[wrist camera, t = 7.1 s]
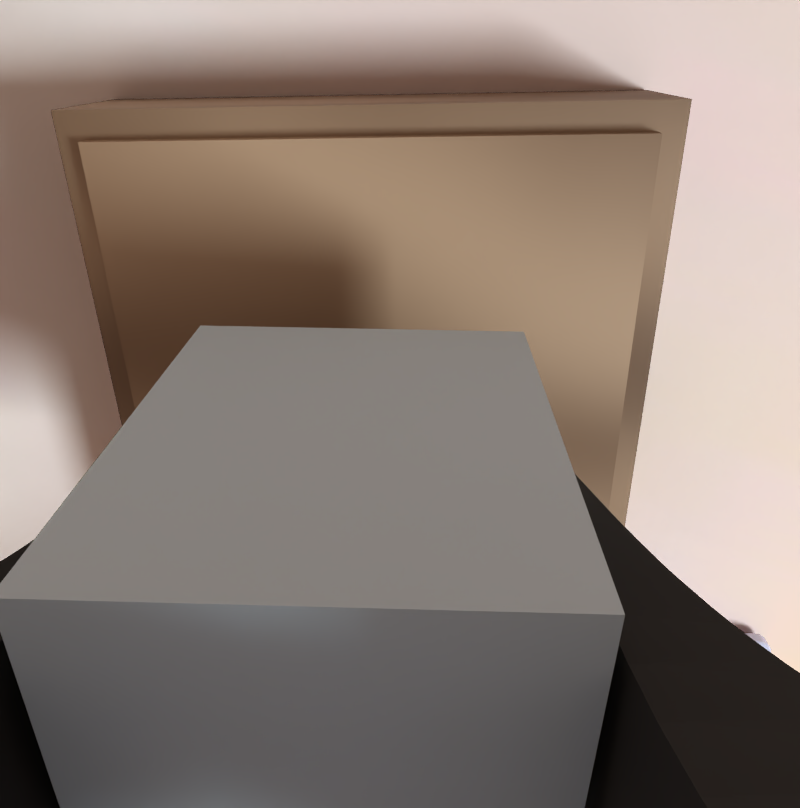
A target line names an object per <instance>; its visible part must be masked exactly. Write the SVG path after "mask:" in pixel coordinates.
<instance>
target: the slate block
mask: <svg viewBox="0 0 800 808" xmlns="http://www.w3.org/2000/svg"><path fill="white" fill-rule="evenodd" d="M624 618H625V613H624V610H623V607H622V605H621V602H620V599H619V596H618V594H617V591H616V588H615V585H614V582H613V580H612V577H611V574H610V571H609V568H608V566H607V563H606V560H605V557H604V554H603V552H602V549H601V546H600V543H599V540H598V538H597V535H596V532H595V529H594V526H593V524H592V521H591V518H590V515H589V512H588V510H587V507H586V504H585V501H584V499H583V496H582V493H581V490H580V487H579V485H578V482H577V479H576V476H575V473H574V471H573V468H572V465H571V462H570V459H569V457H568V454H567V451H566V448H565V445H564V443H563V440H562V437H561V434H560V431H559V429H558V426H557V423H556V420H555V417H554V415H553V412H552V409H551V406H550V403H549V401H548V398H547V395H546V392H545V390H544V387H543V384H542V381H541V378H540V376H539V373H538V370H537V367H536V364H535V362H534V359H533V356H532V353H531V350H530V348H529V345H528V342H527V339H526V336H525V334H524V332H513V331H461V330H408V329H356V328H304V327H252V326H200V327H199V328H198V329H197V331H196V332H195V333H194V334H193V336H192V337H191V338H190V340H189V341H188V342H187V343H186V345H185V346H184V347H183V349H182V350H181V351H180V352H179V354H178V355H177V356H176V358H175V359H174V360H173V361H172V363H171V364H170V365H169V367H168V368H167V369H166V370H165V372H164V373H163V374H162V376H161V377H160V378H159V379H158V381H157V382H156V383H155V385H154V386H153V387H152V388H151V390H150V391H149V392H148V394H147V395H146V396H145V398H144V399H143V400H142V401H141V403H140V404H139V405H138V407H137V408H136V409H135V410H134V412H133V413H132V414H131V416H130V417H129V418H128V419H127V421H126V422H125V423H124V425H123V426H122V427H121V428H120V430H119V431H118V432H117V434H116V435H115V436H114V437H113V439H112V440H111V441H110V443H109V444H108V445H107V446H106V448H105V449H104V450H103V452H102V453H101V454H100V455H99V457H98V458H97V459H96V461H95V462H94V463H93V465H92V466H91V467H90V468H89V470H88V471H87V472H86V474H85V475H84V476H83V477H82V479H81V480H80V481H79V483H78V484H77V485H76V486H75V488H74V489H73V490H72V492H71V493H70V494H69V495H68V497H67V498H66V499H65V501H64V502H63V503H62V504H61V506H60V507H59V508H58V510H57V511H56V512H55V513H54V515H53V516H52V517H51V519H50V520H49V521H48V522H47V524H46V525H45V526H44V528H43V529H42V530H41V532H40V533H39V534H38V535H37V537H36V538H35V539H34V541H33V542H32V543H31V544H30V546H29V547H28V548H27V550H26V551H25V552H24V553H23V555H22V556H21V557H20V559H19V560H18V561H17V562H16V564H15V565H14V566H13V568H12V569H11V570H10V571H9V573H8V574H7V575H6V577H5V578H4V579H3V580H2V582H1V583H0V633H1V636H2V639H3V641H4V644H5V647H6V650H7V653H8V656H9V659H10V662H11V665H12V668H13V671H14V674H15V677H16V680H17V683H18V686H19V689H20V692H21V694H22V697H23V700H24V703H25V706H26V709H27V712H28V715H29V718H30V721H31V724H32V727H33V730H34V733H35V736H36V739H37V742H38V745H39V747H40V750H41V753H42V756H43V759H44V762H45V765H46V768H47V771H48V774H49V777H50V780H51V783H52V786H53V789H54V792H55V795H56V798H57V800H58V803H59V806H60V808H585V804H586V799H587V794H588V789H589V784H590V780H591V775H592V770H593V765H594V761H595V756H596V751H597V746H598V742H599V737H600V732H601V727H602V723H603V718H604V713H605V708H606V704H607V699H608V694H609V689H610V685H611V680H612V675H613V670H614V666H615V661H616V656H617V651H618V647H619V642H620V637H621V632H622V627H623V623H624Z"/></svg>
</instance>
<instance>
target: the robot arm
mask: <svg viewBox="0 0 800 808" xmlns="http://www.w3.org/2000/svg"><path fill="white" fill-rule="evenodd" d="M575 476H576V479H577V482H578V485H579V487H580V490H581V493H582V496H583V499H584V501H585V504H586V507H587V510H588V512H589V515H590V518H591V521H592V524H593V526H594V529H595V532H596V535H597V538H598V540H599V543H600V546H601V549H602V552H603V554H604V557H605V560H606V563H607V566H608V568H609V571H610V574H611V577H612V580H613V582H614V585H615V588H616V591H617V594H618V596H619V599H620V602H621V605H622V607H623V610H624V613H625V618H624V623H623V627H622V632H621V637H620V642H619V647H618V651H617V656H616V661H615V666H614V670H613V675H612V680H611V685H610V689H609V694H608V699H607V704H606V708H605V713H604V718H603V723H602V727H601V732H600V737H599V742H598V746H597V751H596V756H595V761H594V765H593V770H592V775H591V780H590V784H589V789H588V794H587V799H586V804H585V808H800V673H799V672H797V671H796V670H794V669H793V668H792V667H790V666H789V665H787V664H786V663H784V662H783V661H781V660H780V659H779V658H777V657H776V656H775V655H773V654H772V653H771V648H770V647H769V645H768V643H767V641H766V640H765V638H764V637H763V636H761V635H759V634H754V633H744V632H742V631H741V630H740V629H738V628H737V627H736V626H734V625H733V624H732V623H731V622H729V621H728V620H727V619H726V618H724V617H723V616H722V615H721V614H719V613H718V612H717V611H716V610H714V609H713V608H712V607H711V606H710V605H708V604H707V603H706V602H705V601H704V600H703V599H701V598H700V597H699V596H698V595H697V594H696V593H694V592H693V591H692V590H691V589H690V588H689V587H688V586H686V585H685V584H684V583H683V582H682V581H681V580H679V579H678V578H677V577H676V576H675V575H674V574H673V573H672V572H671V571H669V570H668V569H667V568H666V567H665V566H664V565H663V564H662V563H661V562H660V561H659V560H658V559H657V558H656V557H655V556H654V555H653V554H652V553H651V552H650V551H648V550H647V549H646V548H645V547H644V546H643V545H642V544H641V543H640V542H639V541H638V540H637V539H636V538H635V537H634V536H633V535H632V534H631V533H630V532H629V531H628V530H627V529H626V528H625V527H624V525H623V524H622V523H621V522H620V521H619V520H618V519H617V518H616V517H615V516H614V515H613V514H612V513H611V512H610V511H609V510H608V509H607V508H606V506H605V505H604V504H603V503H602V502H601V501H600V500H599V499H598V498H597V497H596V496H595V495H594V494H593V492H592V491H591V490H590V489H589V488H588V487H587V486H586V485H585V484H584V483H583V482H582V481H581V480H580V479H579V478H578V477H577V475H576V474H575ZM33 541H34V540H33ZM33 541H31V542H30V543H28V544H27V545H25V546H24V547H22V548H21V549H19V550H18V551H16V552H15V553H13V554H12V555H10V556H8V557H7V558H5V559H4V560H2V561H0V583H1V582H2V580H3V579H4V578H5V577H6V575H7V574H8V573H9V571H10V570H11V569H12V568H13V566H14V565H15V564H16V562H17V561H18V560H19V559H20V557H21V556H22V555H23V553H24V552H25V551H26V550H27V548H28V547H29V546H30V544H31V543H32V542H33ZM0 808H60V806H59V803H58V800H57V798H56V795H55V792H54V789H53V786H52V783H51V780H50V777H49V774H48V771H47V768H46V765H45V762H44V759H43V756H42V753H41V750H40V747H39V745H38V742H37V739H36V736H35V733H34V730H33V727H32V724H31V721H30V718H29V715H28V712H27V709H26V706H25V703H24V700H23V697H22V694H21V692H20V689H19V686H18V683H17V680H16V677H15V674H14V671H13V668H12V665H11V662H10V659H9V656H8V653H7V650H6V647H5V644H4V641H3V639H2V636H1V633H0Z"/></svg>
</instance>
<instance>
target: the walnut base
mask: <svg viewBox="0 0 800 808" xmlns="http://www.w3.org/2000/svg"><path fill="white" fill-rule="evenodd" d="M691 101H692V99H688V98H683V97H678V96H673V95H668V94H663V93H658V92H654V91H649V90H627V91H570V92H514V93H457V94H401V95H344V96H288V97H232V98H175V99H119V100H107V101H102V102H96V103H90V104H84V105H78V106H73V107H67V108H61V109H55V110H51V113H52V118H53V122H54V127H55V131H56V135H57V140H58V144H59V149H60V153H61V158H62V162H63V166H64V171H65V175H66V180H67V184H68V188H69V193H70V197H71V202H72V206H73V211H74V215H75V219H76V224H77V228H78V233H79V237H80V242H81V246H82V250H83V255H84V259H85V264H86V268H87V272H88V277H89V281H90V286H91V290H92V295H93V299H94V303H95V308H96V312H97V317H98V321H99V325H100V330H101V334H102V339H103V343H104V348H105V352H106V356H107V361H108V365H109V370H110V374H111V379H112V383H113V387H114V392H115V396H116V401H117V405H118V409H119V414H120V418H121V423H122V426H123V425H124V423H125V422H126V421H127V419H128V418H129V417H130V416H131V414H132V413H133V412H134V410H135V409H136V408H137V407H138V405H139V404H140V403H141V401H142V400H143V399H144V398H145V396H146V395H147V394H148V392H149V391H150V390H151V388H152V387H153V386H154V385H155V383H156V382H157V381H158V379H159V378H160V377H161V376H162V374H163V373H164V372H165V370H166V369H167V368H168V367H169V365H170V364H171V363H172V361H173V360H174V359H175V358H176V356H177V355H178V354H179V352H180V351H181V350H182V349H183V347H184V346H185V345H186V343H187V342H188V341H189V340H190V338H191V337H192V336H193V334H194V333H195V332H196V331H197V329H198V328H199V327H200V326H252V327H304V328H356V329H408V330H461V331H513V332H524V334H525V336H526V339H527V342H528V345H529V348H530V350H531V353H532V356H533V359H534V362H535V364H536V367H537V370H538V373H539V376H540V378H541V381H542V384H543V387H544V390H545V392H546V395H547V398H548V401H549V403H550V406H551V409H552V412H553V415H554V417H555V420H556V423H557V426H558V429H559V431H560V434H561V437H562V440H563V443H564V445H565V448H566V451H567V454H568V457H569V459H570V462H571V465H572V468H573V471H574V473H575V474H576V475H577V477H578V478H579V479H580V480H581V481H582V482H583V483H584V484H585V485H586V486H587V487H588V488H589V489H590V490H591V491H592V492H593V494H594V495H595V496H596V497H597V498H598V499H599V500H600V501H601V502H602V503H603V504H604V505H605V506H606V508H607V509H608V510H609V511H610V512H611V513H612V514H613V515H614V516H615V517H616V518H617V519H618V520H619V521H620V522H621V523H622V524H623V525H624V527H625V521H626V514H627V508H628V502H629V495H630V489H631V483H632V476H633V470H634V463H635V457H636V451H637V444H638V438H639V432H640V425H641V419H642V413H643V406H644V400H645V394H646V387H647V381H648V374H649V368H650V362H651V355H652V349H653V343H654V336H655V330H656V324H657V317H658V311H659V304H660V298H661V292H662V285H663V279H664V273H665V266H666V260H667V254H668V247H669V241H670V235H671V228H672V222H673V215H674V209H675V203H676V196H677V190H678V184H679V177H680V171H681V165H682V158H683V152H684V145H685V139H686V133H687V126H688V120H689V114H690V107H691Z"/></svg>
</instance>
